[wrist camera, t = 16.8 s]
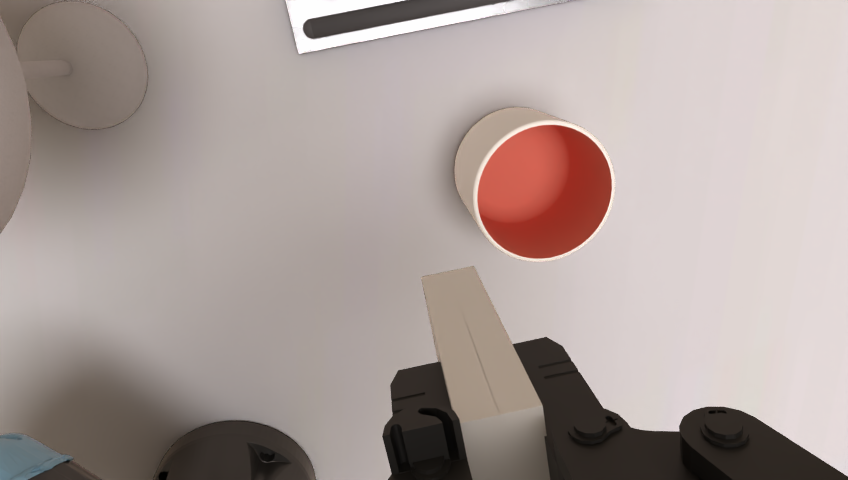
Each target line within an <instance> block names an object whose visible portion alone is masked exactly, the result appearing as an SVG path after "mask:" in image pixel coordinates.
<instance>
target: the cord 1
mask: <svg viewBox="0 0 848 480" xmlns="http://www.w3.org/2000/svg"><path fill="white" fill-rule="evenodd" d="M506 1H511V0H404V1H399V2H394V3H388V4H383V5H378V6H373V7H368V8H363V9H358V10H352V11H347V12H342V13H337V14H332V15H327V16H321V17H316V18H311V19H308V20H306V21H305V22H304V24H303V32H304V34H305V35H306V36H307V37H308V38H310V39H316V38H321V37H327V36H332V35H337V34H342V33H347V32H352V31H357V30H362V29H368V28H373V27H378V26H383V25H388V24H393V23H398V22H403V21H409V20H414V19H419V18H424V17H429V16H434V15H439V14H444V13H450V12H455V11H460V10H465V9H470V8H475V7H480V6H485V5H491V4H496V3H501V2H506Z"/></svg>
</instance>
